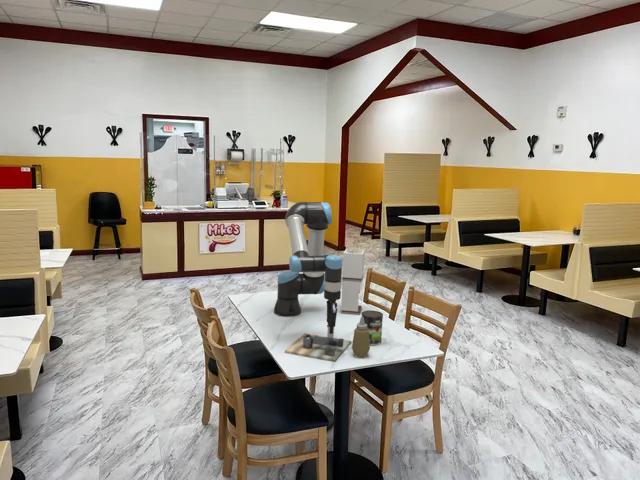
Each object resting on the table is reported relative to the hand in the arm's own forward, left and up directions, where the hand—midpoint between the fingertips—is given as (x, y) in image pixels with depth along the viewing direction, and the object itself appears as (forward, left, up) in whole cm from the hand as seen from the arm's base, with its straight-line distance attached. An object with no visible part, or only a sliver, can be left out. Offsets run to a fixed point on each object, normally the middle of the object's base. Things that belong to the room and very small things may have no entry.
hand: (330, 339), depth 227 cm
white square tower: (-7, +58, -5) cm, 58 cm away
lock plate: (-5, 0, -5) cm, 7 cm away
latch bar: (-2, -3, -4) cm, 5 cm away
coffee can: (+15, +18, -5) cm, 24 cm away
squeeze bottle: (+15, 0, -5) cm, 16 cm away
